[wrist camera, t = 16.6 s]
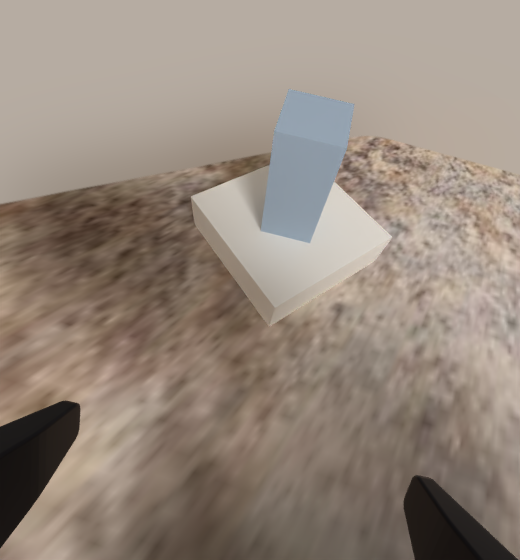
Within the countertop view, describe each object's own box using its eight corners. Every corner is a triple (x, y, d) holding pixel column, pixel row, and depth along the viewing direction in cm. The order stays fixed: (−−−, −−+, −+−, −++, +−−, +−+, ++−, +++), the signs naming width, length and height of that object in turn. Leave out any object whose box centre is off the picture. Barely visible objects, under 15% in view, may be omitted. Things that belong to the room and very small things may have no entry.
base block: (372, 263, 29) (392, 237, 26) (268, 329, 25) (274, 307, 22) (294, 183, 34) (302, 151, 30) (194, 227, 30) (190, 196, 26)
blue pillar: (317, 205, 27) (354, 104, 19) (309, 243, 25) (346, 148, 17) (271, 194, 27) (288, 88, 19) (260, 230, 25) (274, 131, 17)
